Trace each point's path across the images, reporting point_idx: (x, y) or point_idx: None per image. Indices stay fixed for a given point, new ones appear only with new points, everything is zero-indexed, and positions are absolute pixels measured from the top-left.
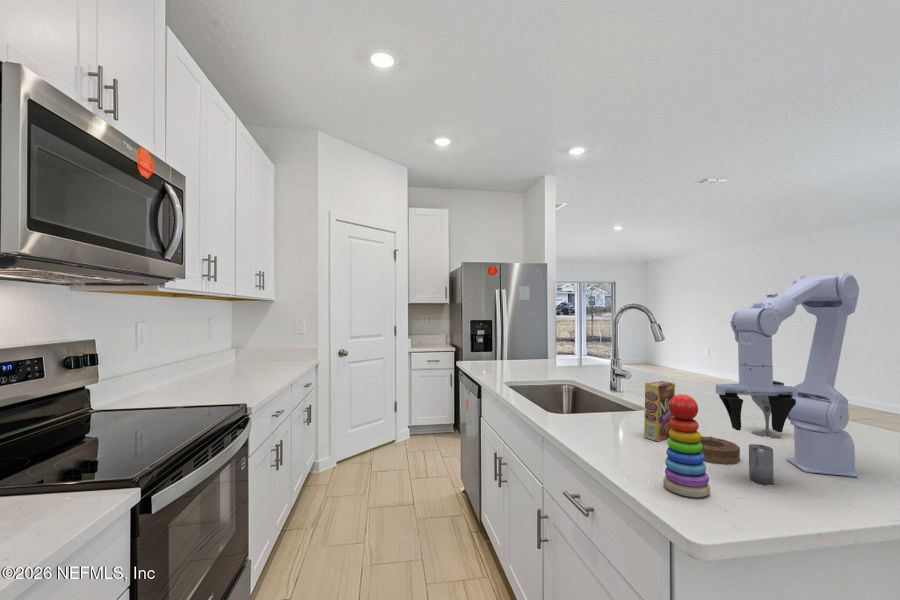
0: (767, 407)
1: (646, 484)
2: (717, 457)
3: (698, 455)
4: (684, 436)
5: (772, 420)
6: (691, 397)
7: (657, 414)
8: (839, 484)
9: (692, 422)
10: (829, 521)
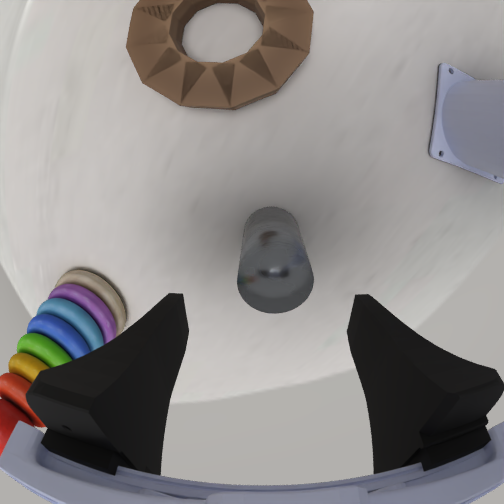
0: None
1: (40, 285)
2: (204, 107)
3: None
4: None
5: (371, 319)
6: None
7: None
8: (444, 222)
9: (39, 426)
10: (285, 374)
